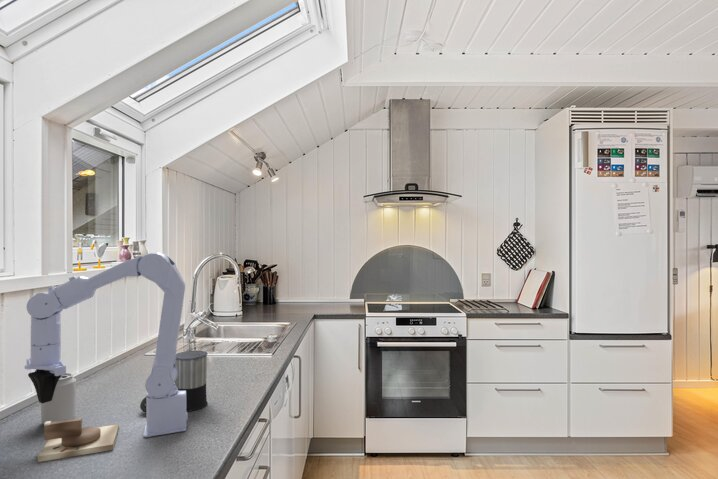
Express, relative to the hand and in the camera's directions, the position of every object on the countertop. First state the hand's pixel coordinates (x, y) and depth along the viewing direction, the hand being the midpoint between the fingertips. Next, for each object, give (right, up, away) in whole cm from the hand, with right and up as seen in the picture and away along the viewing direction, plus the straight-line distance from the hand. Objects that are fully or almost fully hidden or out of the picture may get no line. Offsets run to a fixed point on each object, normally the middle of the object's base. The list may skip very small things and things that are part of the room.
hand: (45, 401), depth 102 cm
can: (-5, -10, +12) cm, 16 cm away
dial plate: (+9, -10, -1) cm, 13 cm away
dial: (+8, -8, -2) cm, 12 cm away
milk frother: (+21, -10, +21) cm, 32 cm away
